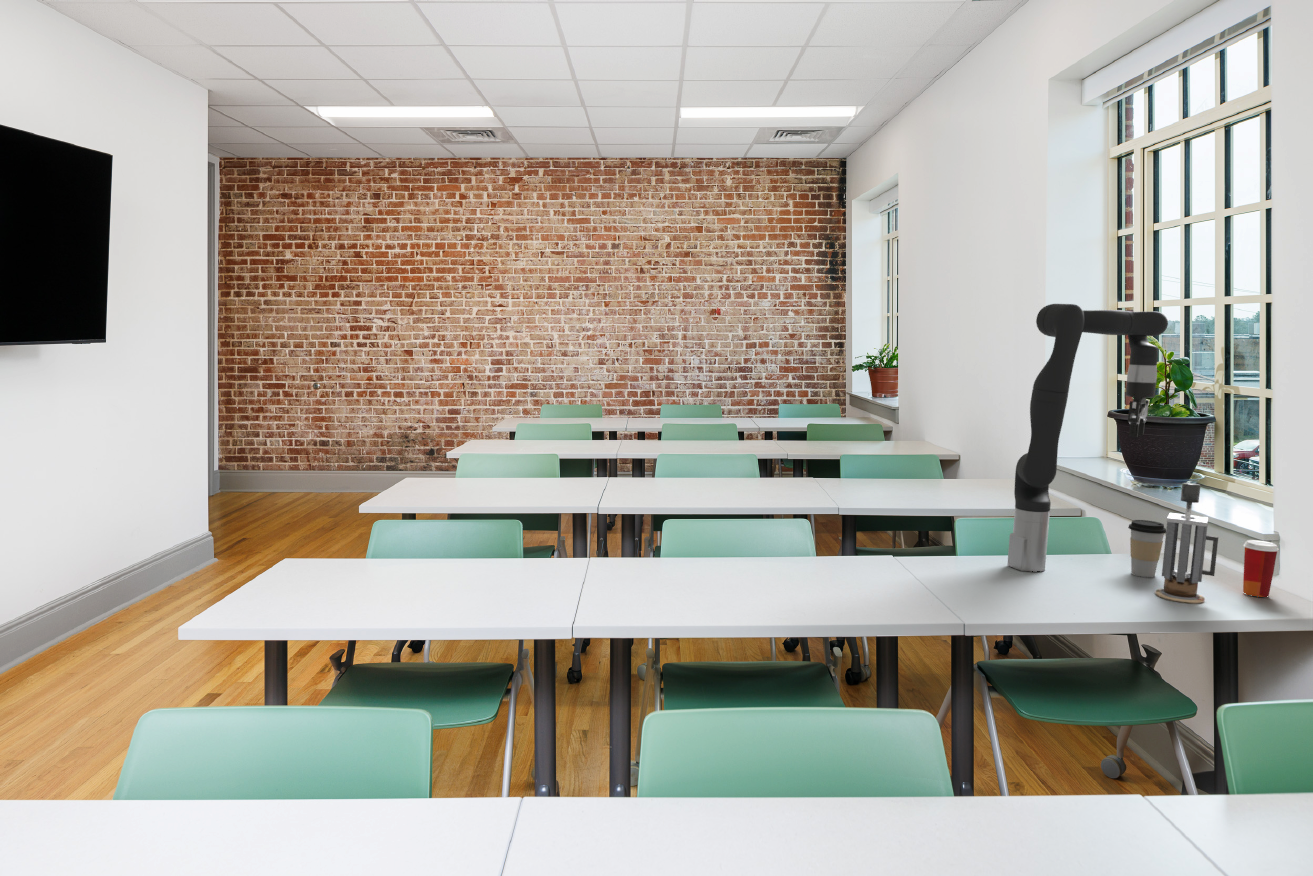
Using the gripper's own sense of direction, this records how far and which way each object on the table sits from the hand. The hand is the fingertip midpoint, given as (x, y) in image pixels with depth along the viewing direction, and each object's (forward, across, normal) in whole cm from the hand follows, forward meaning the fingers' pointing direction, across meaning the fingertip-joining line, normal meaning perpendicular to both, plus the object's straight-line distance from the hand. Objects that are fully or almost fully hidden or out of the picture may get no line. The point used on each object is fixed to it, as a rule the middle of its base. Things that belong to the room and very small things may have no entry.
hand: (1136, 436), depth 256 cm
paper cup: (+38, -11, -34) cm, 52 cm away
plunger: (+33, -29, -19) cm, 47 cm away
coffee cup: (+38, -11, -7) cm, 40 cm away
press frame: (+38, -29, -19) cm, 51 cm away
